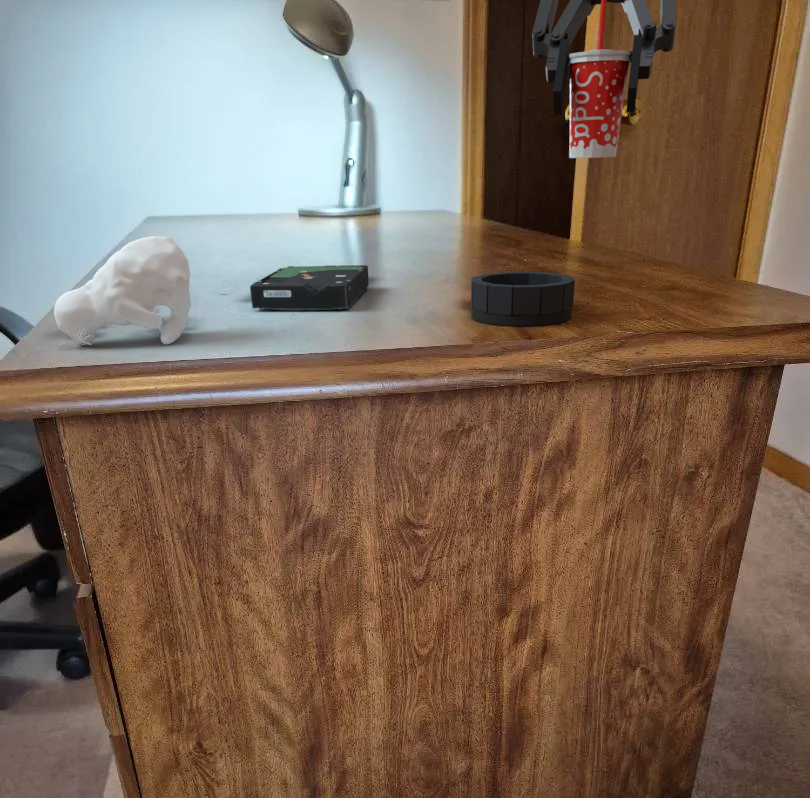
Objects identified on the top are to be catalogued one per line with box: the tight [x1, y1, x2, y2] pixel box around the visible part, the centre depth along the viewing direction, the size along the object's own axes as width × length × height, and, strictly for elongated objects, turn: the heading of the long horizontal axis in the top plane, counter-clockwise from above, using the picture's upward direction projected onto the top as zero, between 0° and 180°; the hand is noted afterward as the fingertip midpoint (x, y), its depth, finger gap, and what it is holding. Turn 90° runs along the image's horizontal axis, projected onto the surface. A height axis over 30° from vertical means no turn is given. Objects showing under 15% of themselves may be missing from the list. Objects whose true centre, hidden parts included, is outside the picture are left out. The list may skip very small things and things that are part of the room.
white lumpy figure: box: [53, 235, 192, 346], centre depth 68 cm, size 6×8×12 cm
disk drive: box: [249, 264, 370, 311], centre depth 87 cm, size 10×3×15 cm
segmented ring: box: [470, 271, 576, 327], centre depth 76 cm, size 10×10×4 cm
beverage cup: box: [567, 0, 633, 159], centre depth 77 cm, size 6×6×14 cm
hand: (594, 101), depth 74 cm, fingers closed on beverage cup, 6 cm apart
